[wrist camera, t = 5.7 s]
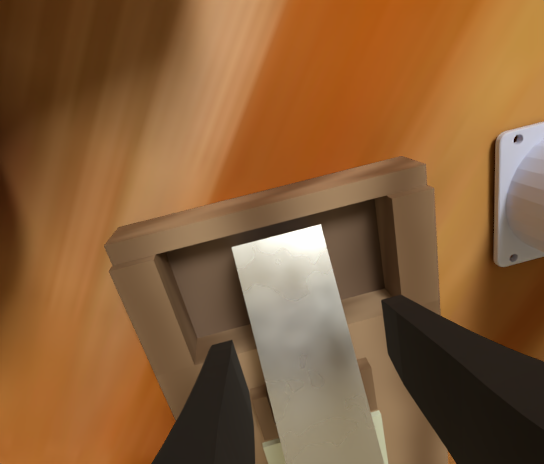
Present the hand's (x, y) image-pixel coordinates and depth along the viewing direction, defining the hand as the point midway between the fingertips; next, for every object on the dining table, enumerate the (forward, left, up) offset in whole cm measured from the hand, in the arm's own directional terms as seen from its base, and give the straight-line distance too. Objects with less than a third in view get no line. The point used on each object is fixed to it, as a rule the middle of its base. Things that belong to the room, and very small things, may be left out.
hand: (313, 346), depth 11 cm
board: (0, +10, -9) cm, 13 cm away
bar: (0, +5, -6) cm, 8 cm away
